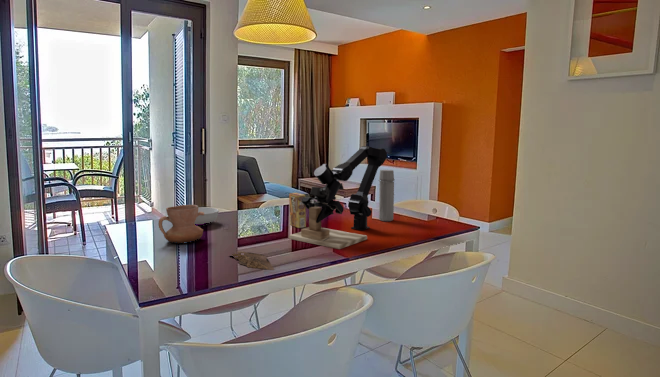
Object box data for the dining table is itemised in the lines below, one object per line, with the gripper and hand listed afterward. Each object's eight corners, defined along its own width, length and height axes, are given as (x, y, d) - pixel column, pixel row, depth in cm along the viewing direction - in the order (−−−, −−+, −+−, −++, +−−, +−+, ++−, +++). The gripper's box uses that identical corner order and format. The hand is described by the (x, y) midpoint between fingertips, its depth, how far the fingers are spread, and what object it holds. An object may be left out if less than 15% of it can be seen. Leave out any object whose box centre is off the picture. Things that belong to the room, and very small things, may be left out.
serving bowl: (212, 229, 193) (211, 214, 192) (166, 229, 193) (165, 214, 193) (224, 220, 214) (223, 206, 213) (182, 220, 214) (181, 206, 213)
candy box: (306, 227, 197) (306, 194, 195) (298, 228, 195) (297, 195, 193) (297, 223, 205) (296, 192, 203) (289, 225, 202) (288, 193, 200)
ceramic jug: (201, 234, 183) (198, 202, 181) (210, 241, 171) (208, 206, 169) (156, 241, 174) (153, 207, 172) (163, 249, 162) (160, 212, 160)
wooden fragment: (224, 255, 154) (224, 252, 154) (252, 250, 161) (252, 247, 160) (254, 275, 133) (254, 271, 133) (285, 268, 140) (285, 265, 139)
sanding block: (310, 233, 179) (310, 205, 177) (329, 237, 173) (329, 208, 171) (301, 236, 174) (300, 207, 173) (320, 240, 168) (319, 210, 167)
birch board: (318, 230, 191) (318, 226, 191) (367, 239, 176) (367, 235, 175) (289, 238, 177) (289, 235, 176) (339, 249, 161) (339, 245, 161)
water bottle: (382, 218, 218) (383, 169, 215) (396, 219, 213) (397, 170, 210) (373, 221, 211) (374, 170, 207) (387, 223, 206) (388, 171, 203)
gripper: (303, 177, 179) (286, 207, 172) (339, 180, 168) (321, 212, 161) (316, 194, 187) (299, 223, 179) (350, 198, 175) (334, 229, 168)
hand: (312, 221), depth 172 cm, fingers closed on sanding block, 3 cm apart
